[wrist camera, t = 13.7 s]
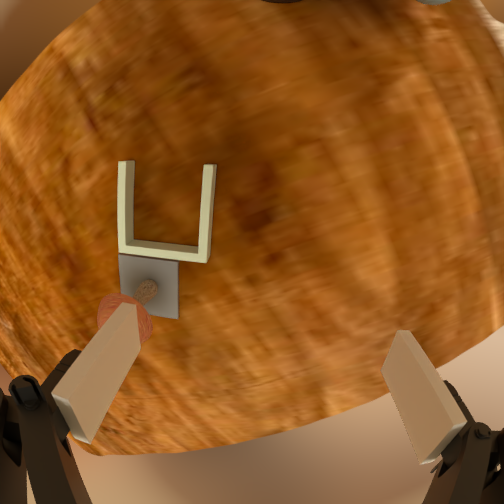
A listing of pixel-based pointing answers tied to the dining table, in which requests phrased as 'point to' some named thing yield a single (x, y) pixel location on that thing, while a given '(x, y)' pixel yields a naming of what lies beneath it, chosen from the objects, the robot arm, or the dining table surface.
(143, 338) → the mushroom
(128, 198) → the cream u-shaped piece
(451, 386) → the robot arm
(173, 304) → the coaster
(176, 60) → the dining table surface
